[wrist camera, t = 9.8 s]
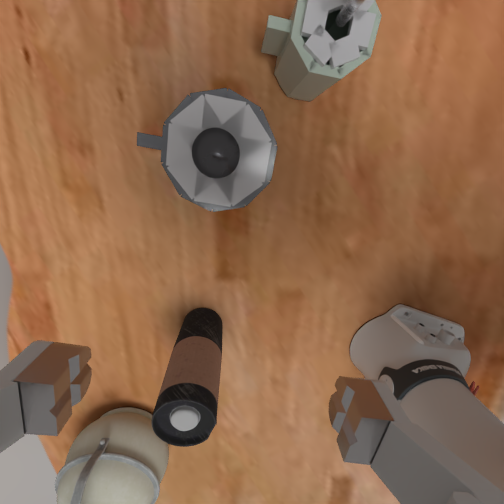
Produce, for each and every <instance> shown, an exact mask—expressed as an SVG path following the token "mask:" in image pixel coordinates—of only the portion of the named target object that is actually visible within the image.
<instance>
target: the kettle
mask: <svg viewBox="0 0 504 504" xmlns="http://www.w3.org/2000/svg"><path fill="white" fill-rule="evenodd" d="M152 416H153V415H152V414H150V413H149V412H147V411H144V410H142V409H138V408H132V407H123V408H117V409H113V410H111V411H109V412H107V413H105V414H104V415H102V416H101V417H100V418H99V419H98V420H96V421H94V422H92V423H91V424H90V425H88V426H87V427H86V428H85V429H83V430H82V431H81V433H80V434H79V435H78V436H77V437H76V439H75V440H74V442H73V444H72V446H71V448H70V450H69V453H68V455H67V458H66V462H65V465H64V466H63V467H62V469H61V470H60V471H59V473H58V475H57V477H56V481H55V490H56V493H57V504H154V503H155V502H156V500H157V498H158V495H159V491H160V486H159V485H160V483H161V481H162V479H163V476H164V474H165V471H166V468H167V464H168V459H169V449H168V444H167V443H166V442H164V441H162V440H161V439H160V438H159V437H158V436H157V435H156V434H155V433H154V431H153V428H152Z"/></svg>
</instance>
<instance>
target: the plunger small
mask: <svg viewBox="0 0 504 504" xmlns="http://www.w3.org/2000/svg"><path fill="white" fill-rule="evenodd" d="M364 1H365V0H348V2H347V3H346V4H345V6H344V7H343V9H342V10H341V11H340V13H339V14H338V15H337V17H336V25H337V26H338V27H343V26H344V25H345V24H346V23H347V22H348V21H349V19H350V18H351V17H352V16H353V14H354V13H355V12H356V11H357V10H358V8H359V7H360V6H361V5H362V4H363V2H364Z"/></svg>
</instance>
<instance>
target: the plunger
mask: <svg viewBox="0 0 504 504" xmlns="http://www.w3.org/2000/svg"><path fill="white" fill-rule="evenodd" d="M192 158H193V161H194V164H195V166H196V167H197V169H198V170H199V171H200V172H201V173H202V174H204V175H206V176H208V177H210V178H223V177H226V176H228V175H230V174H231V173H232V172H233V171H234V170H235V169H236V167H237V165H238V163H239V159H240V149H239V145H238V143H237V141H236V139H235V138H234V137H233V135H232V134H230V133H229V132H228V131H226V130H224V129H221V128H209V129H206V130H204V131H202V132H201V133H200V134H199V135H198V136H197V137H196V139H195V140H194V143H193V146H192Z"/></svg>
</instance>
